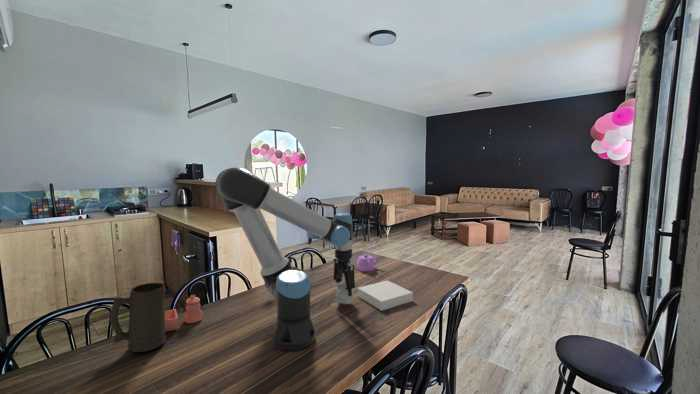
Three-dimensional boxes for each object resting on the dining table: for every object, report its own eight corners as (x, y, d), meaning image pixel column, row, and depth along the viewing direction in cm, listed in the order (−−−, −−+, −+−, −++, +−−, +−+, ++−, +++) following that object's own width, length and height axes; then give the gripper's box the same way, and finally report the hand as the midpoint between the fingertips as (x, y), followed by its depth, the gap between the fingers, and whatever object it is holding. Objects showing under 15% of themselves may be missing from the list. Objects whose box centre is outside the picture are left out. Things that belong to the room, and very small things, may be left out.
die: (331, 302, 133) (331, 281, 132) (350, 299, 136) (350, 278, 136) (338, 310, 125) (338, 287, 124) (357, 306, 128) (357, 284, 128)
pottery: (148, 336, 105) (147, 308, 105) (148, 325, 113) (147, 300, 112) (204, 322, 115) (203, 297, 115) (200, 313, 123) (200, 290, 123)
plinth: (381, 310, 125) (381, 301, 124) (357, 296, 140) (357, 287, 140) (412, 300, 134) (412, 292, 134) (387, 288, 149) (387, 280, 149)
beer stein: (161, 332, 109) (158, 279, 107) (173, 342, 102) (170, 285, 101) (108, 351, 97) (104, 292, 95) (118, 364, 90) (114, 301, 89)
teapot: (360, 275, 169) (360, 258, 168) (354, 268, 182) (354, 252, 181) (385, 273, 172) (385, 256, 171) (377, 266, 185) (377, 251, 184)
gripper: (363, 252, 123) (363, 305, 125) (339, 243, 140) (339, 290, 142) (348, 255, 119) (348, 310, 121) (325, 245, 136) (326, 293, 138)
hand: (343, 299), depth 131 cm, fingers closed on die, 7 cm apart
